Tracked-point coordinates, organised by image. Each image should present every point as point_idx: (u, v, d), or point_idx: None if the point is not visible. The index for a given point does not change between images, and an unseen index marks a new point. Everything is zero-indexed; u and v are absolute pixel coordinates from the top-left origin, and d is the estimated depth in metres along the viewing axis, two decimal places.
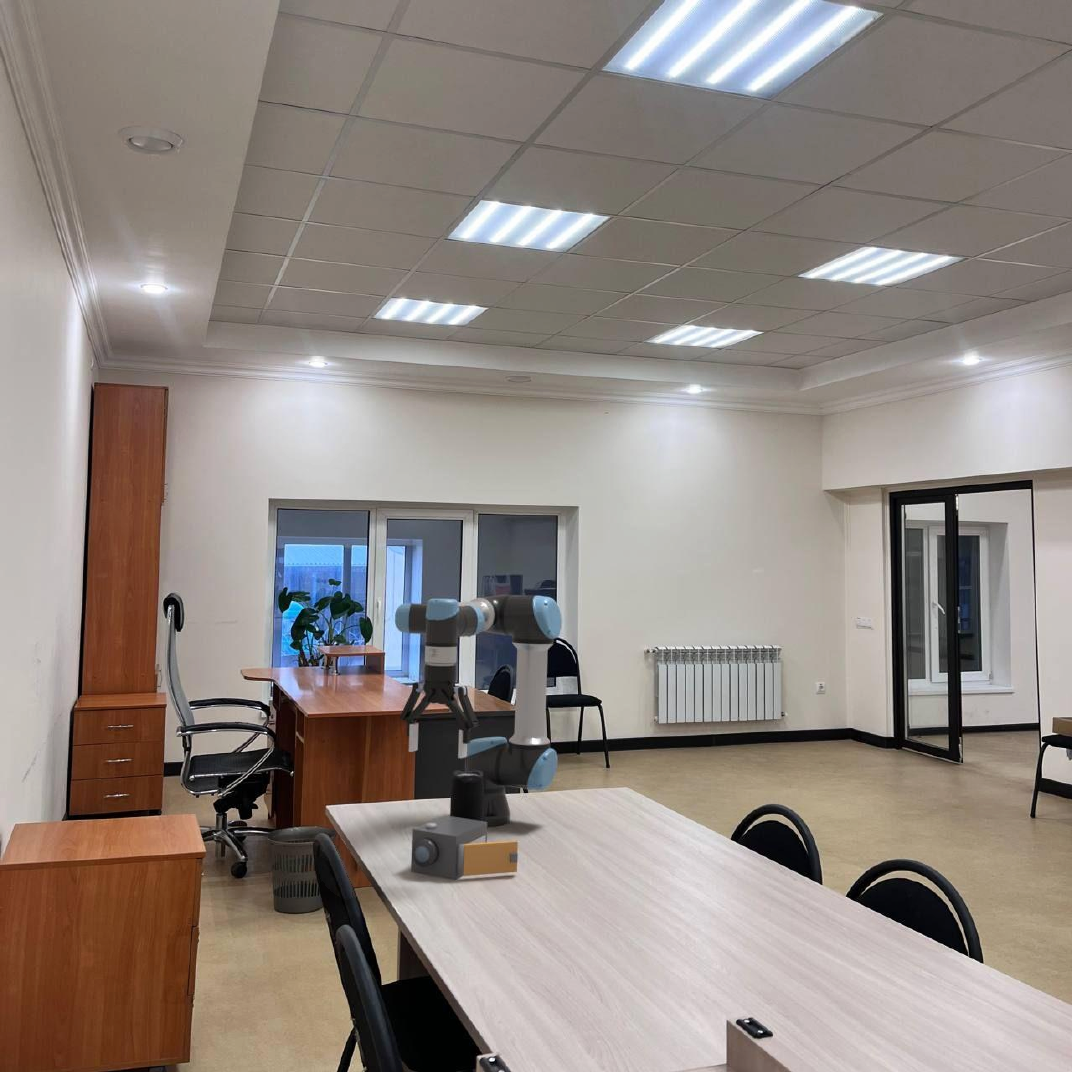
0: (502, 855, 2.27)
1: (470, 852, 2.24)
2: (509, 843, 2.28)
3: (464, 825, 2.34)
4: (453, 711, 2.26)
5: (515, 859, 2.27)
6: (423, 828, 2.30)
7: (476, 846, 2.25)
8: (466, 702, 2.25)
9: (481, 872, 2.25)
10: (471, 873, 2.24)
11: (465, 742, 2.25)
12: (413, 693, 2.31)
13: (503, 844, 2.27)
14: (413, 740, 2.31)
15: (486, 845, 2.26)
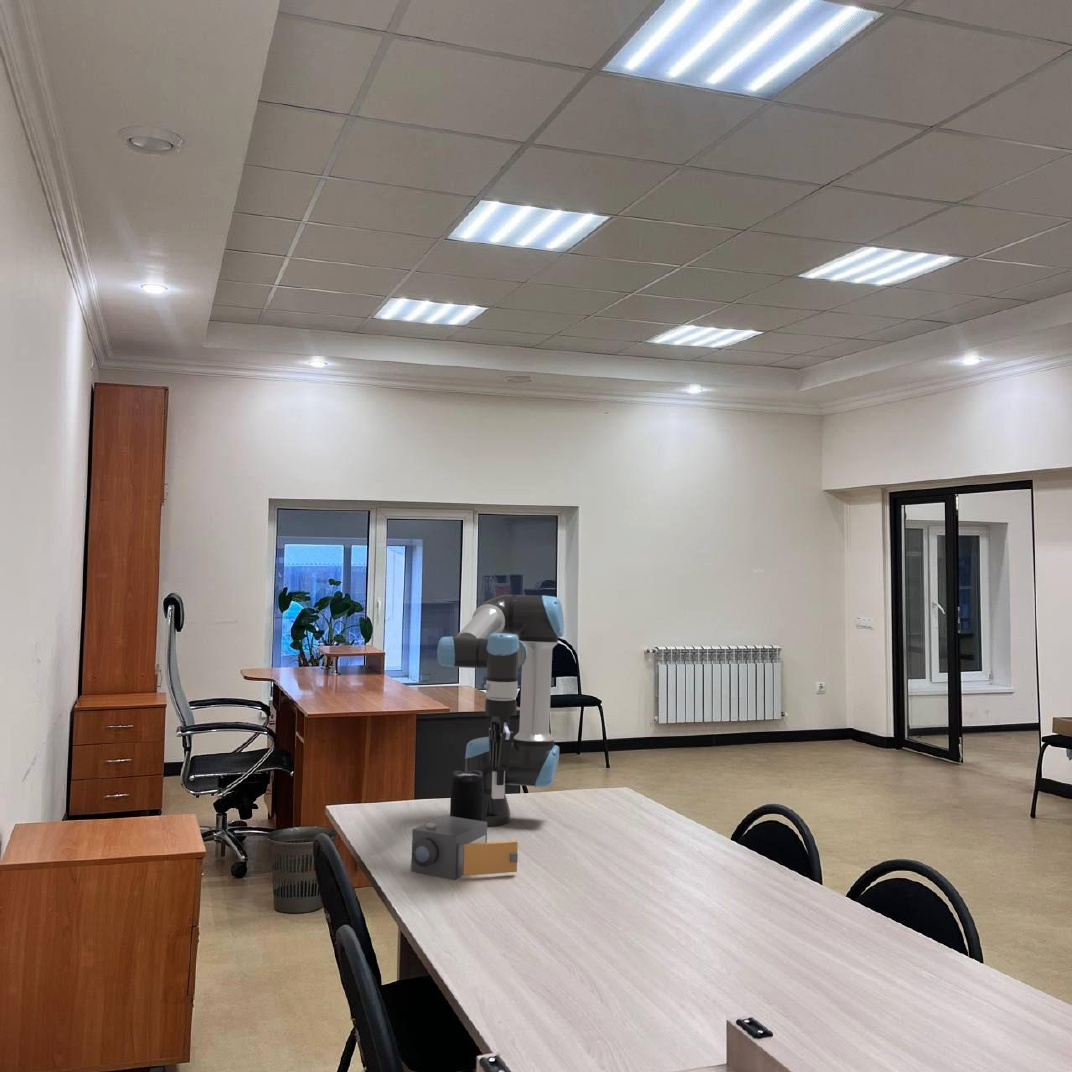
0: (502, 855, 2.27)
1: (470, 852, 2.24)
2: (509, 843, 2.28)
3: (464, 825, 2.34)
4: (496, 749, 2.30)
5: (515, 859, 2.27)
6: (423, 828, 2.30)
7: (476, 846, 2.25)
8: (504, 747, 2.26)
9: (481, 872, 2.25)
10: (471, 873, 2.24)
11: (497, 783, 2.29)
12: (489, 733, 2.35)
13: (503, 844, 2.27)
14: None
15: (486, 845, 2.26)
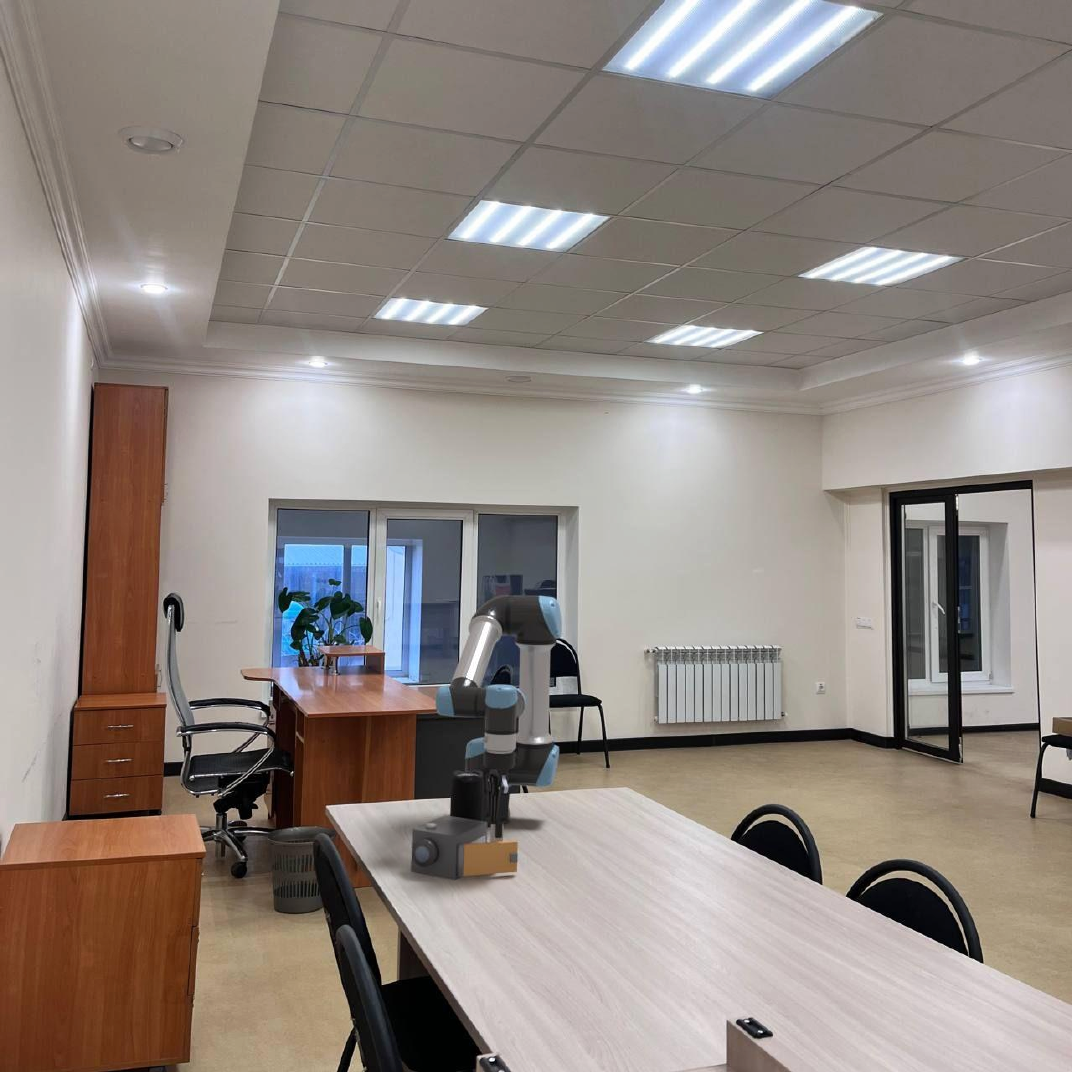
0: (502, 855, 2.27)
1: (470, 852, 2.24)
2: (509, 843, 2.28)
3: (464, 825, 2.34)
4: (494, 801, 2.29)
5: (515, 859, 2.27)
6: (423, 828, 2.30)
7: (476, 846, 2.25)
8: (502, 800, 2.26)
9: (481, 872, 2.25)
10: (471, 873, 2.24)
11: (495, 836, 2.29)
12: (487, 785, 2.35)
13: (503, 844, 2.27)
14: None
15: (486, 845, 2.26)
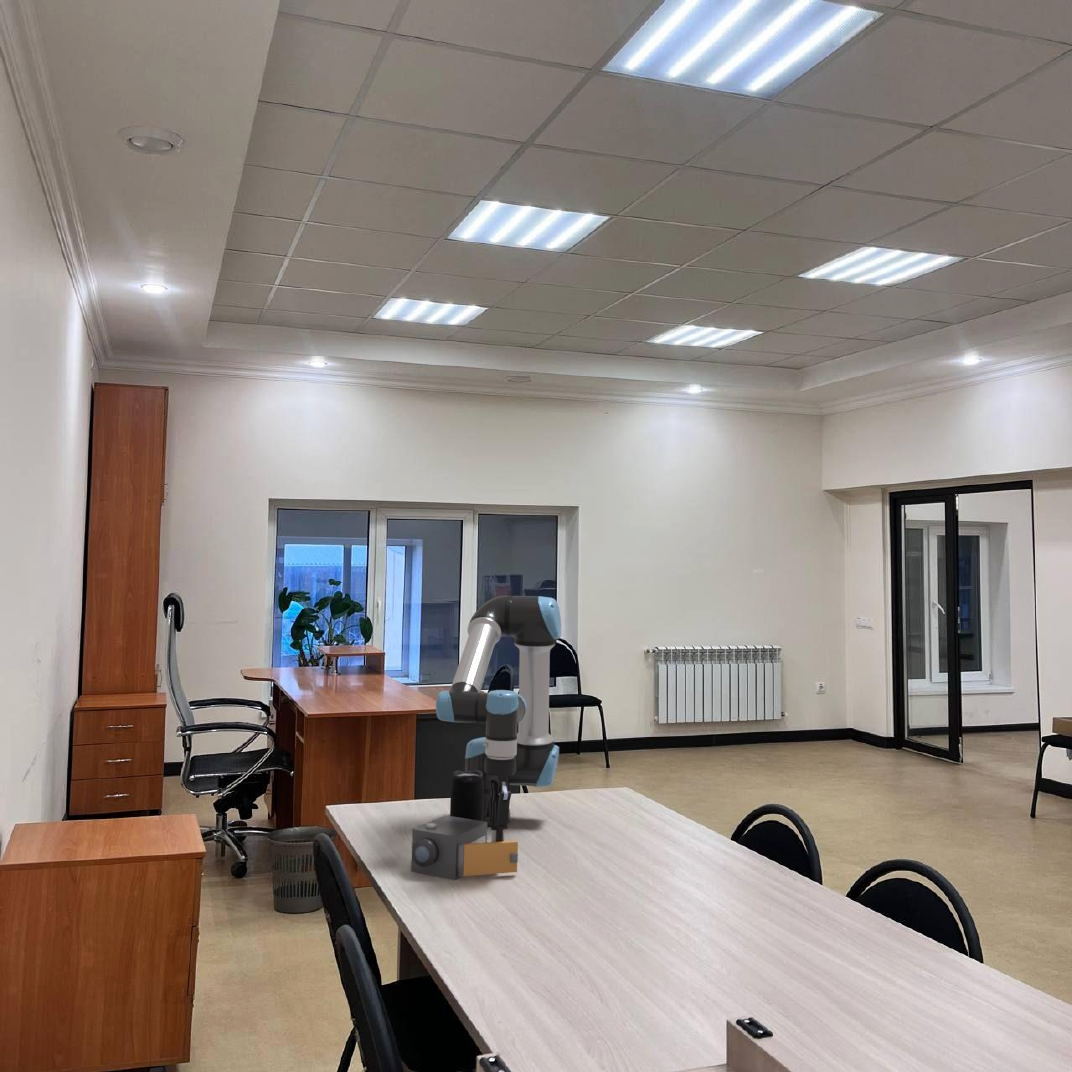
0: (502, 855, 2.27)
1: (470, 852, 2.24)
2: (509, 843, 2.27)
3: (464, 825, 2.34)
4: (495, 807, 2.29)
5: (515, 859, 2.27)
6: (423, 828, 2.30)
7: (476, 846, 2.25)
8: (502, 806, 2.25)
9: (481, 872, 2.25)
10: (471, 873, 2.24)
11: None
12: (489, 790, 2.34)
13: (503, 844, 2.27)
14: None
15: (486, 845, 2.26)
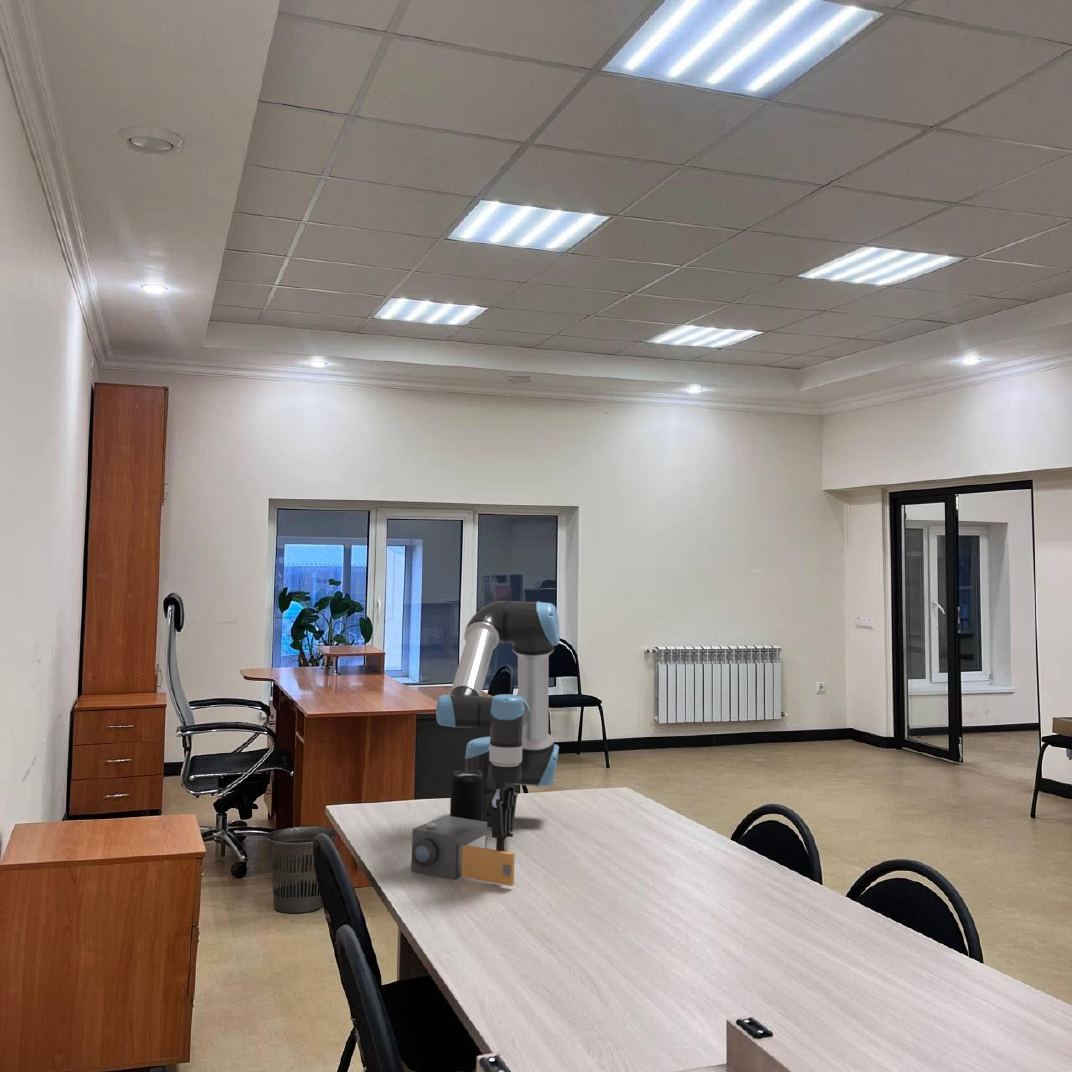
0: (497, 865, 2.19)
1: (467, 854, 2.23)
2: (504, 854, 2.19)
3: (464, 825, 2.34)
4: None
5: (507, 872, 2.17)
6: (423, 828, 2.30)
7: (472, 849, 2.22)
8: (493, 814, 2.18)
9: (477, 877, 2.22)
10: (468, 876, 2.23)
11: None
12: None
13: (498, 854, 2.19)
14: None
15: (482, 850, 2.21)
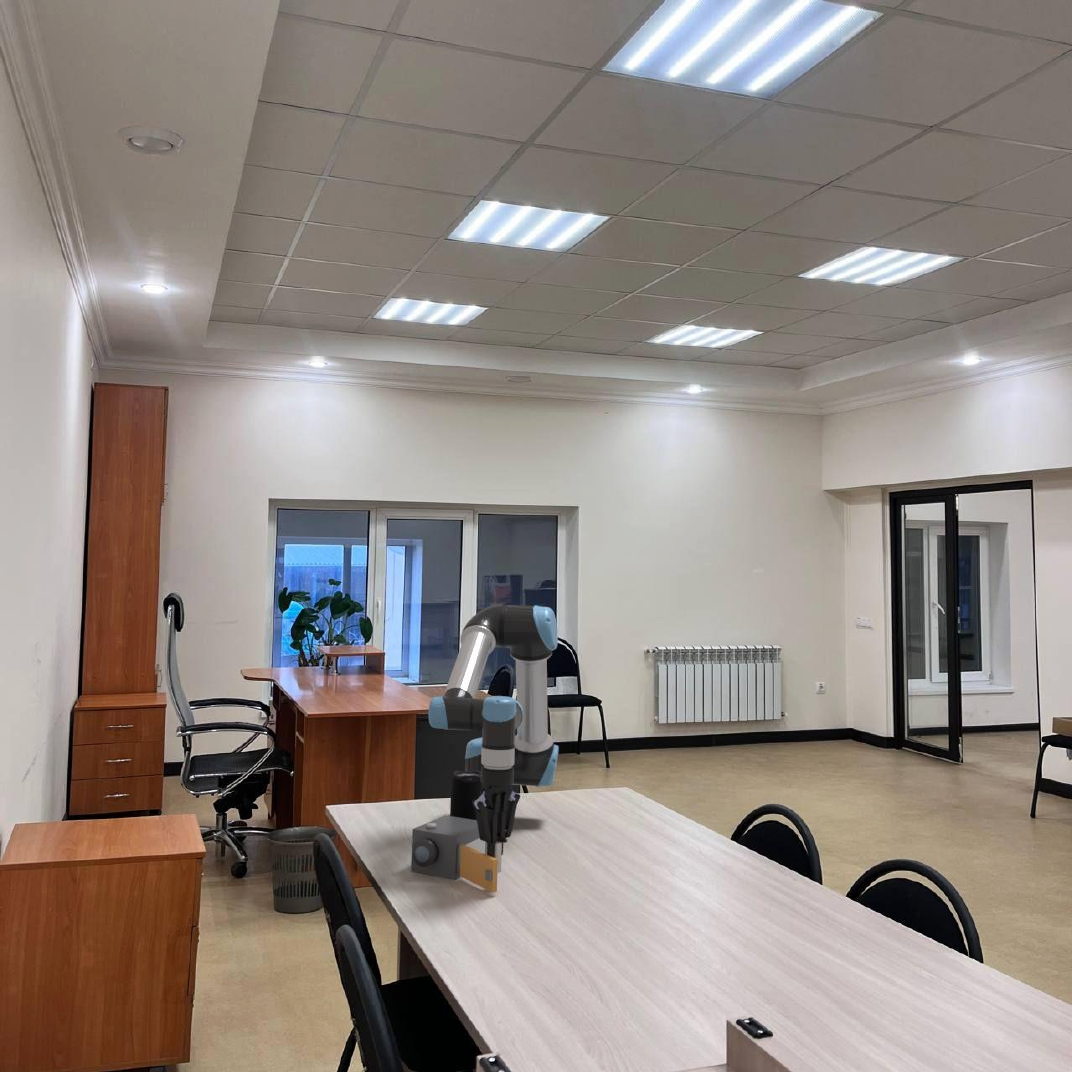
0: (483, 869, 2.16)
1: (464, 854, 2.22)
2: (487, 859, 2.15)
3: (464, 825, 2.34)
4: None
5: (488, 877, 2.13)
6: (423, 828, 2.30)
7: (467, 850, 2.21)
8: (478, 816, 2.16)
9: (470, 879, 2.20)
10: (464, 876, 2.22)
11: None
12: None
13: (484, 858, 2.16)
14: None
15: (473, 853, 2.19)
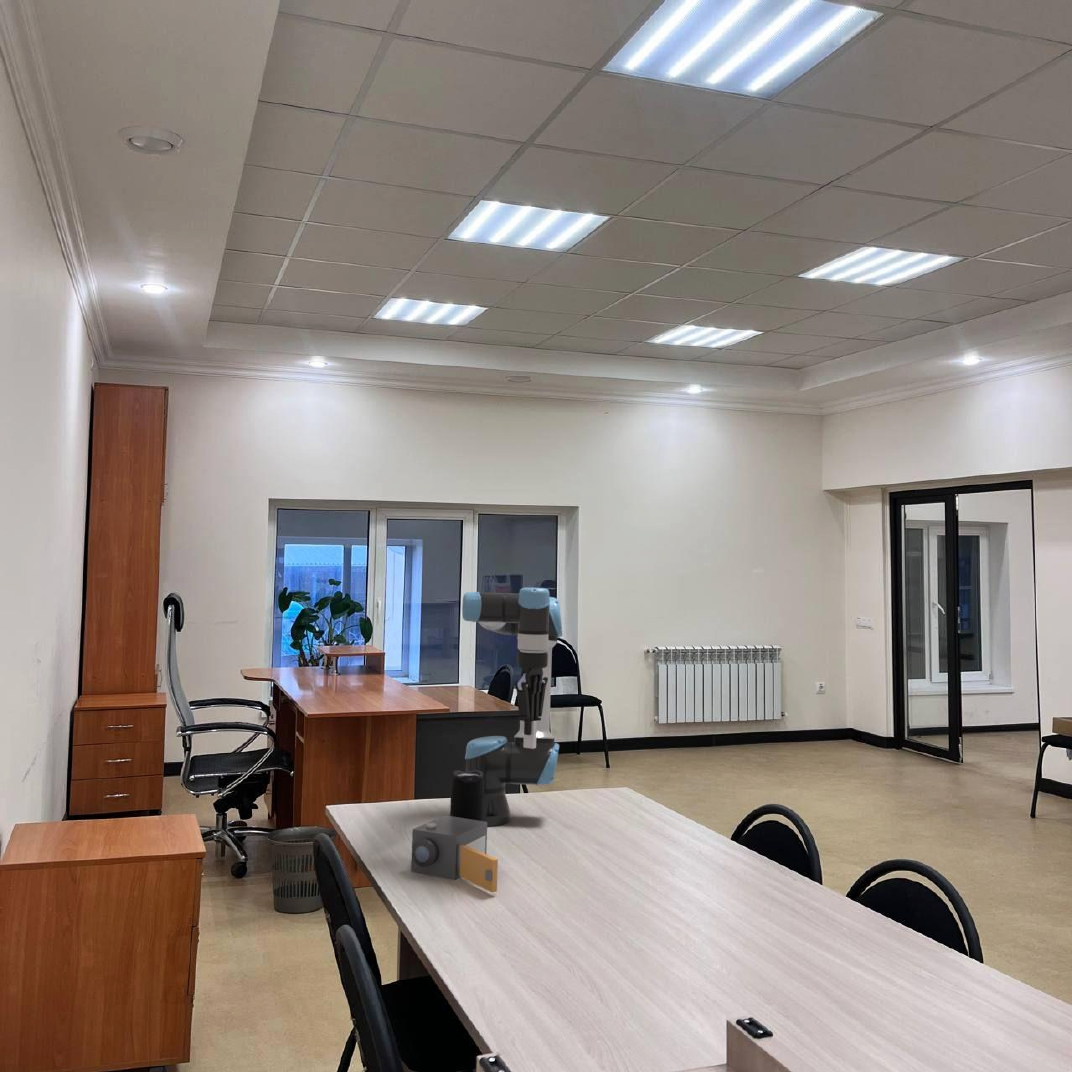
0: (483, 869, 2.16)
1: (464, 854, 2.22)
2: (487, 859, 2.15)
3: (464, 825, 2.34)
4: None
5: (488, 877, 2.13)
6: (423, 828, 2.30)
7: (467, 850, 2.21)
8: (519, 696, 2.33)
9: (470, 879, 2.20)
10: (464, 876, 2.22)
11: None
12: None
13: (484, 858, 2.16)
14: None
15: (473, 853, 2.19)
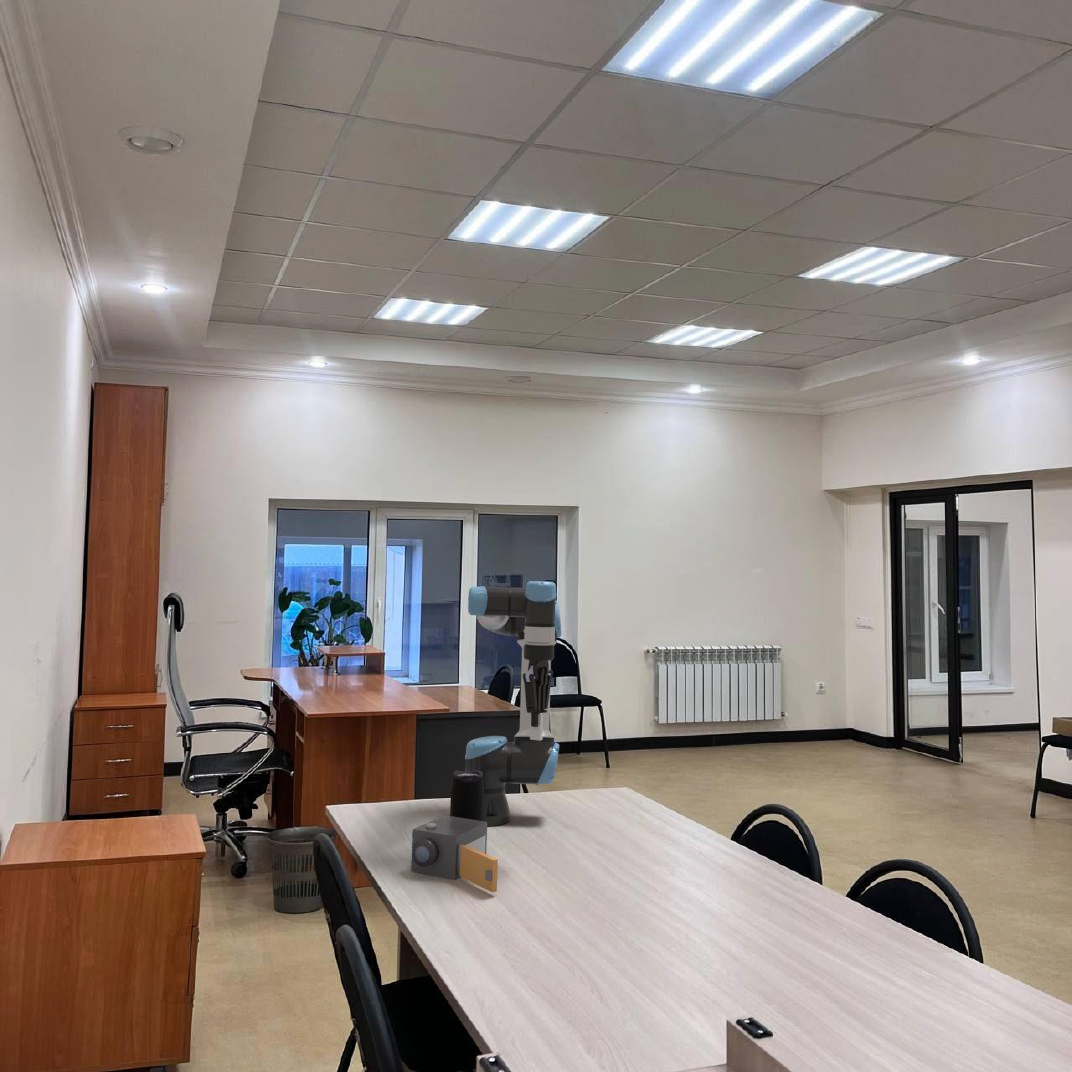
0: (483, 869, 2.16)
1: (464, 854, 2.22)
2: (487, 859, 2.15)
3: (464, 825, 2.34)
4: None
5: (488, 877, 2.13)
6: (423, 828, 2.30)
7: (467, 850, 2.21)
8: (527, 688, 2.35)
9: (470, 879, 2.20)
10: (464, 876, 2.22)
11: None
12: None
13: (484, 858, 2.16)
14: None
15: (473, 853, 2.19)
